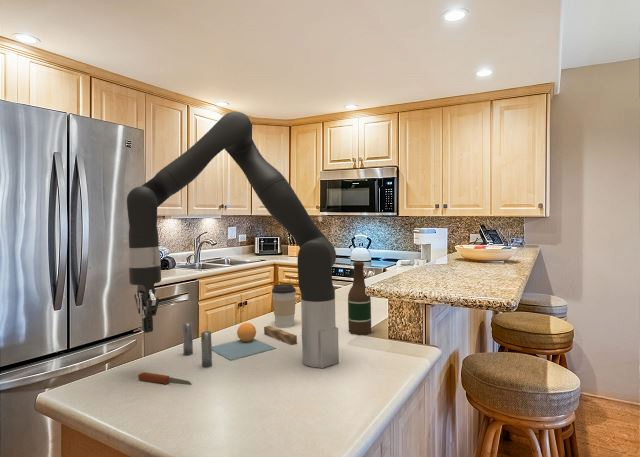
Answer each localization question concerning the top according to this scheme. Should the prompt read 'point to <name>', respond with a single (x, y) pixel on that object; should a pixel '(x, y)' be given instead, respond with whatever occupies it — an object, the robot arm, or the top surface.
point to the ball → (246, 332)
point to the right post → (206, 349)
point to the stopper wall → (280, 335)
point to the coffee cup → (284, 304)
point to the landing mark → (241, 349)
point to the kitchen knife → (161, 379)
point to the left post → (187, 338)
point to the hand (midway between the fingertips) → (147, 331)
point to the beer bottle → (359, 304)
